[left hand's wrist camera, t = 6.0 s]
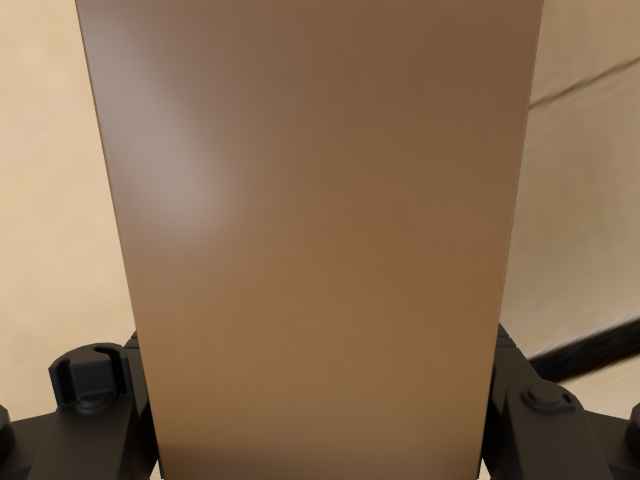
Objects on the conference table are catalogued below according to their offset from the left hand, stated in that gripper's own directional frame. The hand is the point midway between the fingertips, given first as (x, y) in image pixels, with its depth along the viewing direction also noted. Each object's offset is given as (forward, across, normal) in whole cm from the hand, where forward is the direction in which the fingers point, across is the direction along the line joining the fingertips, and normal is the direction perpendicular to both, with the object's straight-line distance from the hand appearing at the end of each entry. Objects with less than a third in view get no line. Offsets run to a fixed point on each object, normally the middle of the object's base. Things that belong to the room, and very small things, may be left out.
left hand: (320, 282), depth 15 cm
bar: (+1, 0, -20) cm, 20 cm away
